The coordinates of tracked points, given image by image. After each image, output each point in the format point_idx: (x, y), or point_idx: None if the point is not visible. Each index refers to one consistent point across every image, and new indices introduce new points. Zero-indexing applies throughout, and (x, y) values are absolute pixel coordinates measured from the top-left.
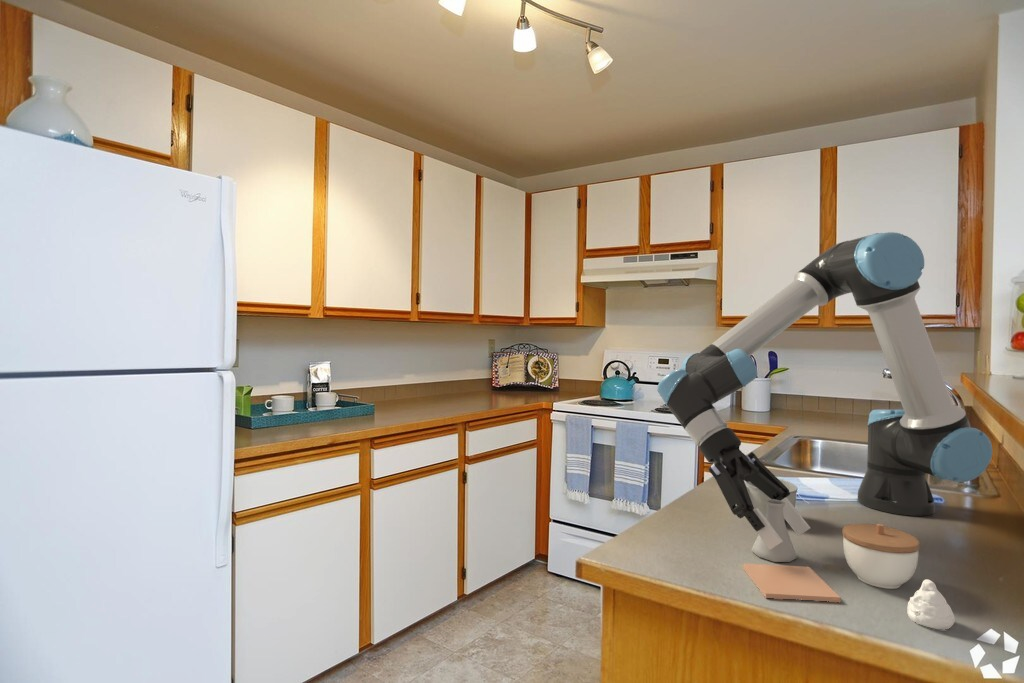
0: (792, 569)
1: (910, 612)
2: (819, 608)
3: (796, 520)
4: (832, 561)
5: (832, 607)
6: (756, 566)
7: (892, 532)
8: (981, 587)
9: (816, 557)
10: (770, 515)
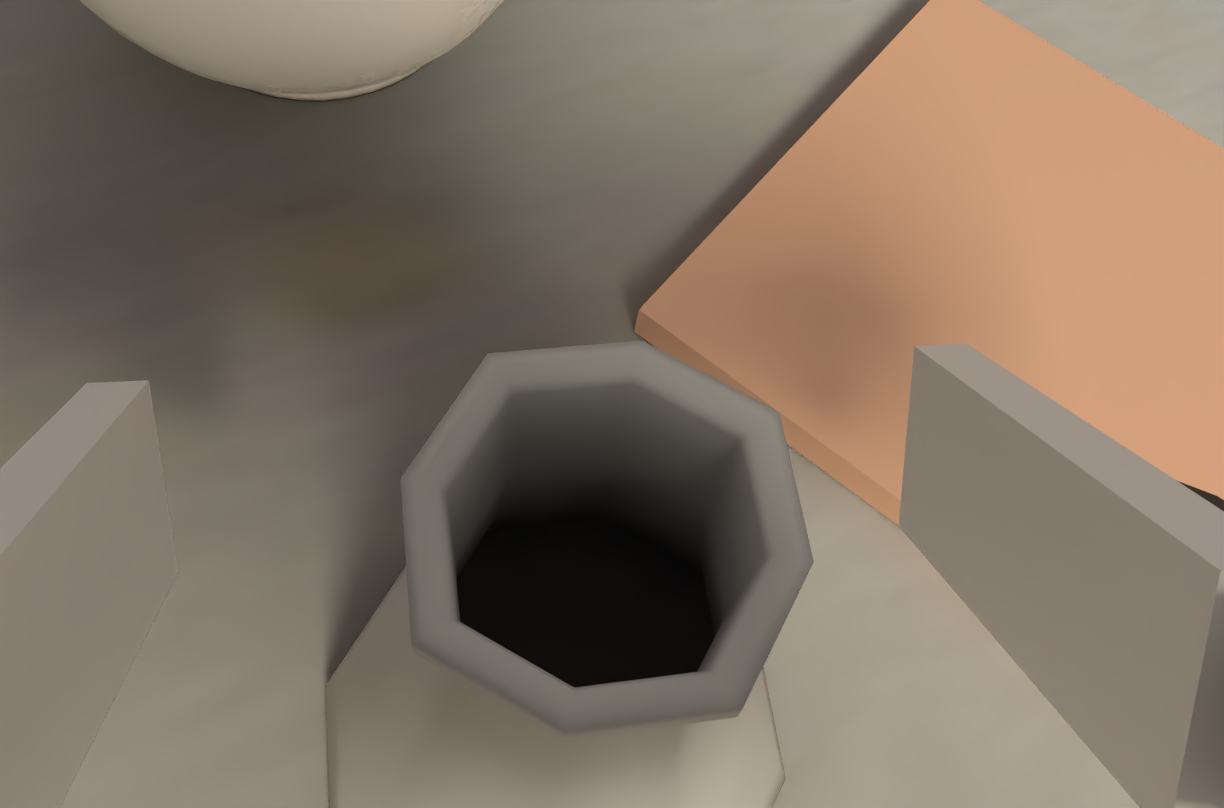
0: (835, 362)
1: None
2: (1131, 50)
3: (103, 530)
4: (195, 318)
5: (1039, 15)
6: None
7: None
8: None
9: (215, 446)
10: (721, 611)
